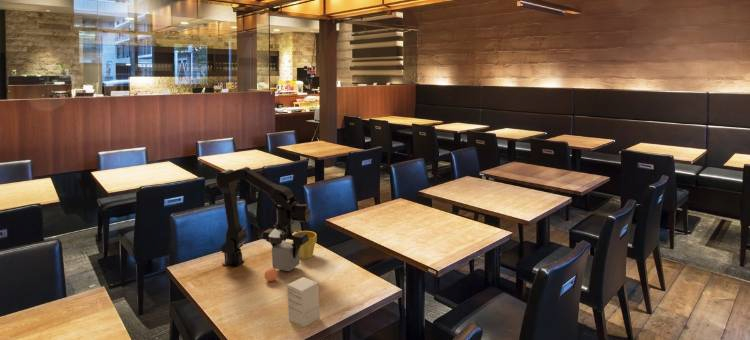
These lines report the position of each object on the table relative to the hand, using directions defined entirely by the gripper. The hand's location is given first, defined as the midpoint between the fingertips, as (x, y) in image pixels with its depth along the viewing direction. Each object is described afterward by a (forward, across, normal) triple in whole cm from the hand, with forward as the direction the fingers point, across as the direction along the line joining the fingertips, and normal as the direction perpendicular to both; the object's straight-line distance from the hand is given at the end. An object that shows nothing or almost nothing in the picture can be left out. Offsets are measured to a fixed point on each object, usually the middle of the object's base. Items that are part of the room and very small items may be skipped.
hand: (286, 256), depth 186 cm
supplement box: (+6, +26, -31) cm, 41 cm away
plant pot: (+6, 0, +15) cm, 16 cm away
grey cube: (+4, 0, 0) cm, 4 cm away
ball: (+3, 0, -11) cm, 11 cm away
